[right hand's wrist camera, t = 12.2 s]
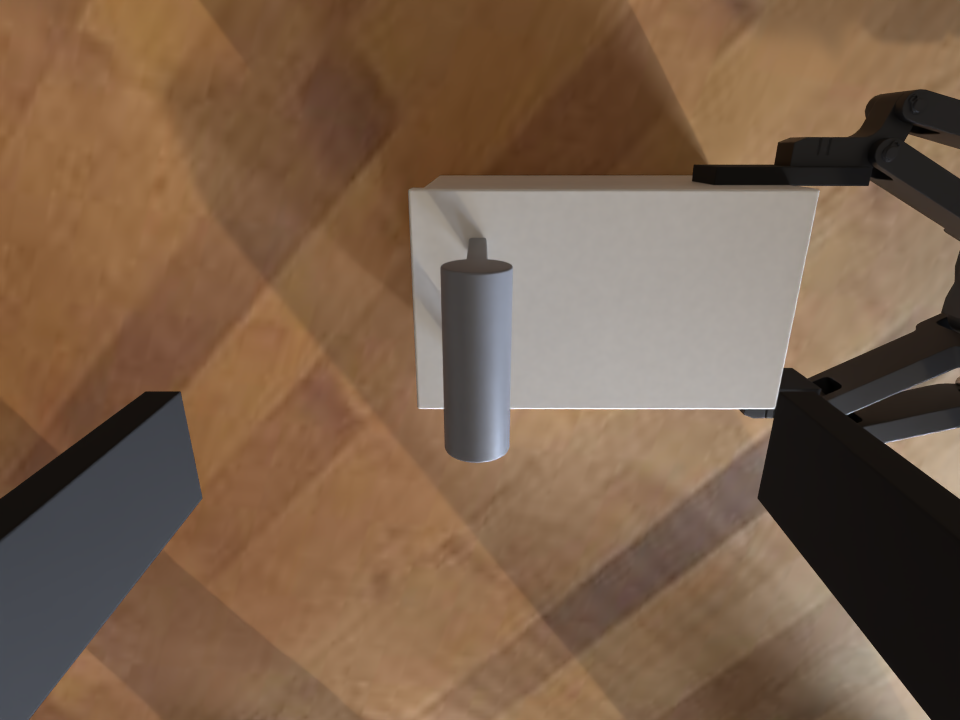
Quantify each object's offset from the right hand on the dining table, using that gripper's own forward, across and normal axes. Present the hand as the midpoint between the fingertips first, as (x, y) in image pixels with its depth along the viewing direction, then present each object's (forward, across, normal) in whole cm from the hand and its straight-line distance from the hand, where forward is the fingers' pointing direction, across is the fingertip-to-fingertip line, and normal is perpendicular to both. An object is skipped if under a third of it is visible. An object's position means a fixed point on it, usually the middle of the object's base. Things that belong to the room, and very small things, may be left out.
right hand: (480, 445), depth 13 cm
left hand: (+15, -10, 0) cm, 18 cm away
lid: (+12, -5, 0) cm, 13 cm away
